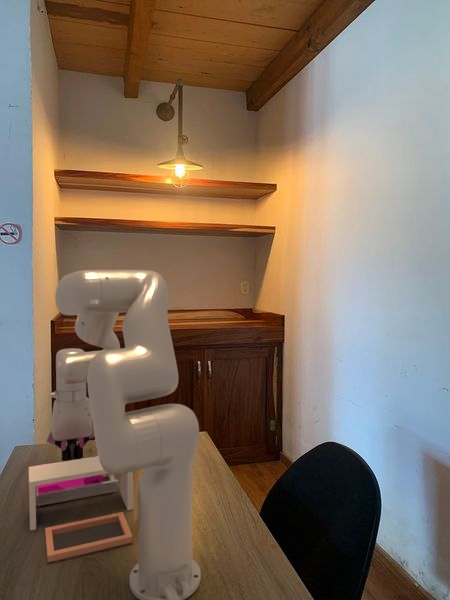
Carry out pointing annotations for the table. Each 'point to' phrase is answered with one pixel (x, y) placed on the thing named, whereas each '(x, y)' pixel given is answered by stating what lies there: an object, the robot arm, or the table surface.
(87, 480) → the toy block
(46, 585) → the table surface
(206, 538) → the table surface
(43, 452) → the table surface
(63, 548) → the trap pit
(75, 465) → the tunnel
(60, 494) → the slider
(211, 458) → the table surface
